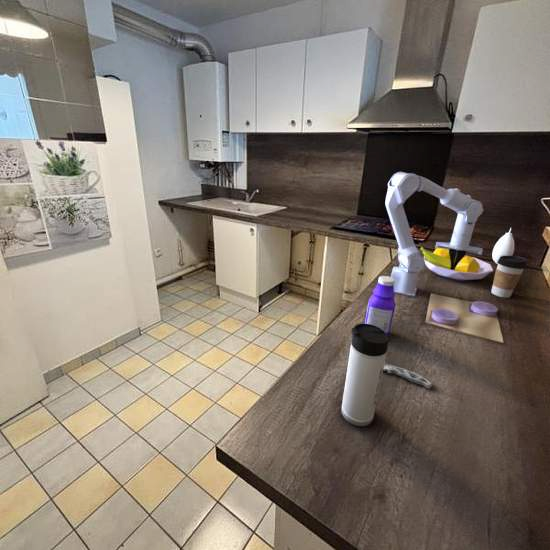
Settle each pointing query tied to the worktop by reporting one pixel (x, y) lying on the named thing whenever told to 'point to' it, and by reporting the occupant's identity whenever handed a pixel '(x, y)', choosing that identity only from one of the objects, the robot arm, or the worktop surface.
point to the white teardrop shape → (503, 247)
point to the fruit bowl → (464, 270)
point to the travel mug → (364, 373)
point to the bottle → (382, 304)
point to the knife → (407, 375)
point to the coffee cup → (507, 275)
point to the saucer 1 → (444, 316)
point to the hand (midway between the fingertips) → (452, 269)
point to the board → (465, 318)
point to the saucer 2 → (484, 308)
